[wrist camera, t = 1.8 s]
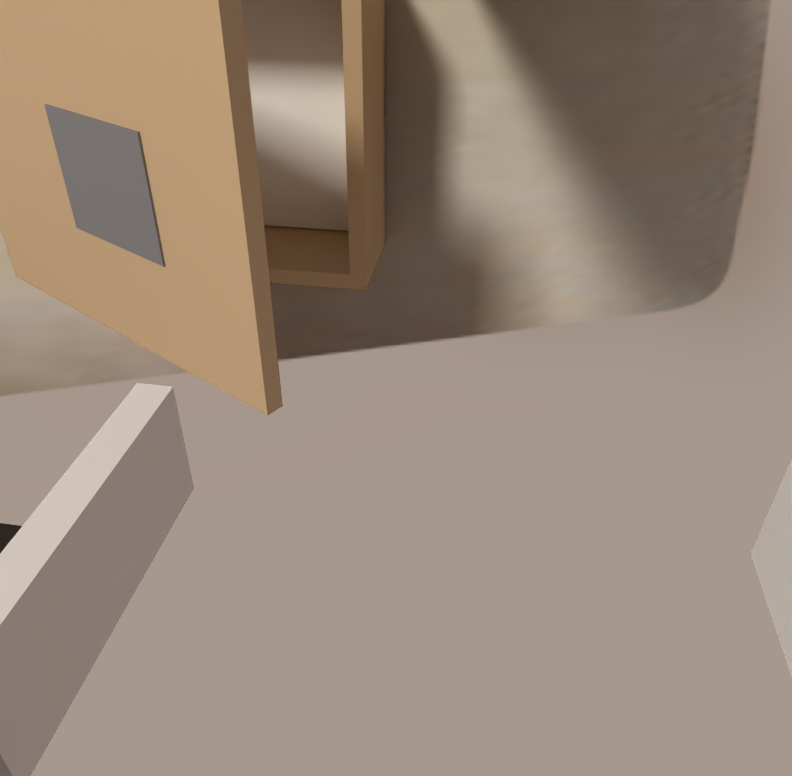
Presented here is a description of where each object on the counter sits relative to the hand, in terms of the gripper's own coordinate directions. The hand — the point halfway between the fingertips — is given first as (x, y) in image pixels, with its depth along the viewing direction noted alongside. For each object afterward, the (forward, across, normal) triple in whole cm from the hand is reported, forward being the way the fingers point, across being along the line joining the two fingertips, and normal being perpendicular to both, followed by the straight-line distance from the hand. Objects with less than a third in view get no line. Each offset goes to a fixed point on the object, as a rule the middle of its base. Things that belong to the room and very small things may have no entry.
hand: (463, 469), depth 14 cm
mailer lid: (+16, +16, 0) cm, 22 cm away
